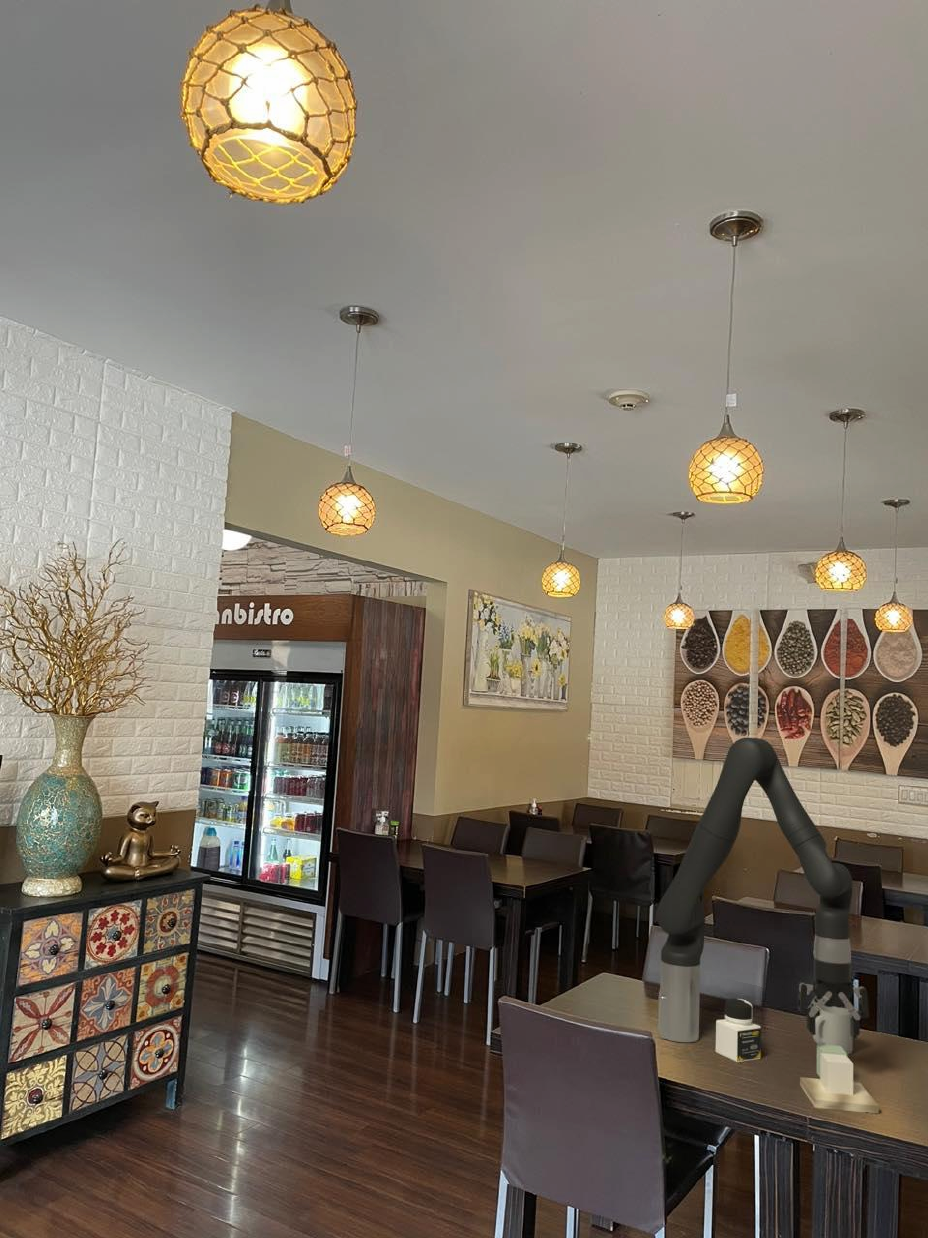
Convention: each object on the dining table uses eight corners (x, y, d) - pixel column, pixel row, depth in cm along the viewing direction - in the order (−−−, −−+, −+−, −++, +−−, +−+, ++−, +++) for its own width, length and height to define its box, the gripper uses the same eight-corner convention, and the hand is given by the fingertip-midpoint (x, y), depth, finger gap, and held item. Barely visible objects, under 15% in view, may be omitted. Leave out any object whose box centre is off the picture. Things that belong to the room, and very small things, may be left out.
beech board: (815, 1108, 182) (815, 1100, 182) (800, 1085, 194) (800, 1077, 194) (878, 1114, 181) (878, 1105, 181) (859, 1090, 193) (859, 1083, 193)
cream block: (827, 1092, 186) (827, 1061, 187) (820, 1083, 191) (820, 1053, 192) (853, 1095, 186) (853, 1063, 187) (845, 1085, 191) (845, 1055, 192)
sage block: (822, 1081, 197) (822, 1051, 198) (816, 1072, 202) (816, 1044, 203) (846, 1083, 197) (846, 1054, 197) (840, 1075, 201) (840, 1046, 202)
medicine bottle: (737, 1063, 205) (738, 1007, 207) (714, 1052, 212) (715, 998, 213) (761, 1059, 209) (762, 1004, 210) (738, 1049, 215) (739, 995, 216)
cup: (859, 1054, 215) (859, 1014, 216) (822, 1056, 213) (823, 1016, 214) (838, 1044, 222) (838, 1005, 223) (802, 1046, 219) (803, 1006, 220)
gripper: (802, 959, 199) (803, 1039, 197) (872, 964, 198) (873, 1044, 195) (794, 951, 207) (794, 1028, 204) (860, 956, 205) (862, 1032, 203)
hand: (833, 1035), depth 200 cm, fingers open, 8 cm apart
